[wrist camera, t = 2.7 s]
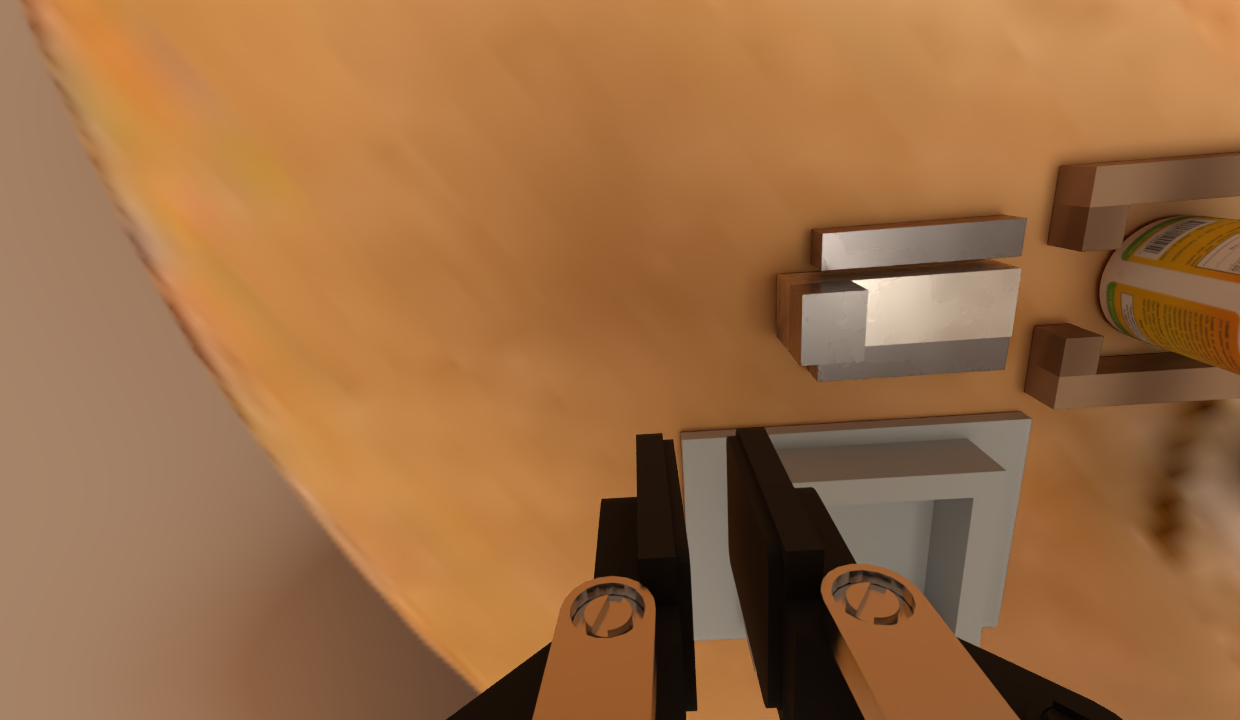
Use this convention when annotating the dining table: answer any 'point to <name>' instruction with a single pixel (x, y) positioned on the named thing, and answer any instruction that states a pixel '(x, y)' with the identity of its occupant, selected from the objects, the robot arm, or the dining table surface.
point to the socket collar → (1096, 222)
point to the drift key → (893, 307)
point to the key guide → (914, 248)
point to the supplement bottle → (1179, 288)
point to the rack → (878, 508)
